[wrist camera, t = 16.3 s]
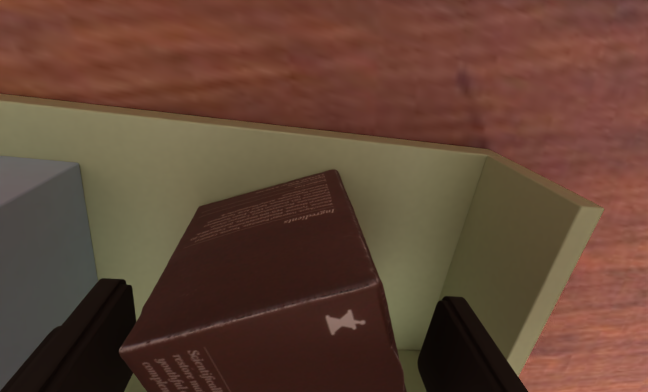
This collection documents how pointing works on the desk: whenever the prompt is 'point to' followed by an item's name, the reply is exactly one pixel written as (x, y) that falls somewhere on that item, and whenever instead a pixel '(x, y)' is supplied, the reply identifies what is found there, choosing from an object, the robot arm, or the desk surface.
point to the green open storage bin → (258, 173)
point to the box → (269, 300)
